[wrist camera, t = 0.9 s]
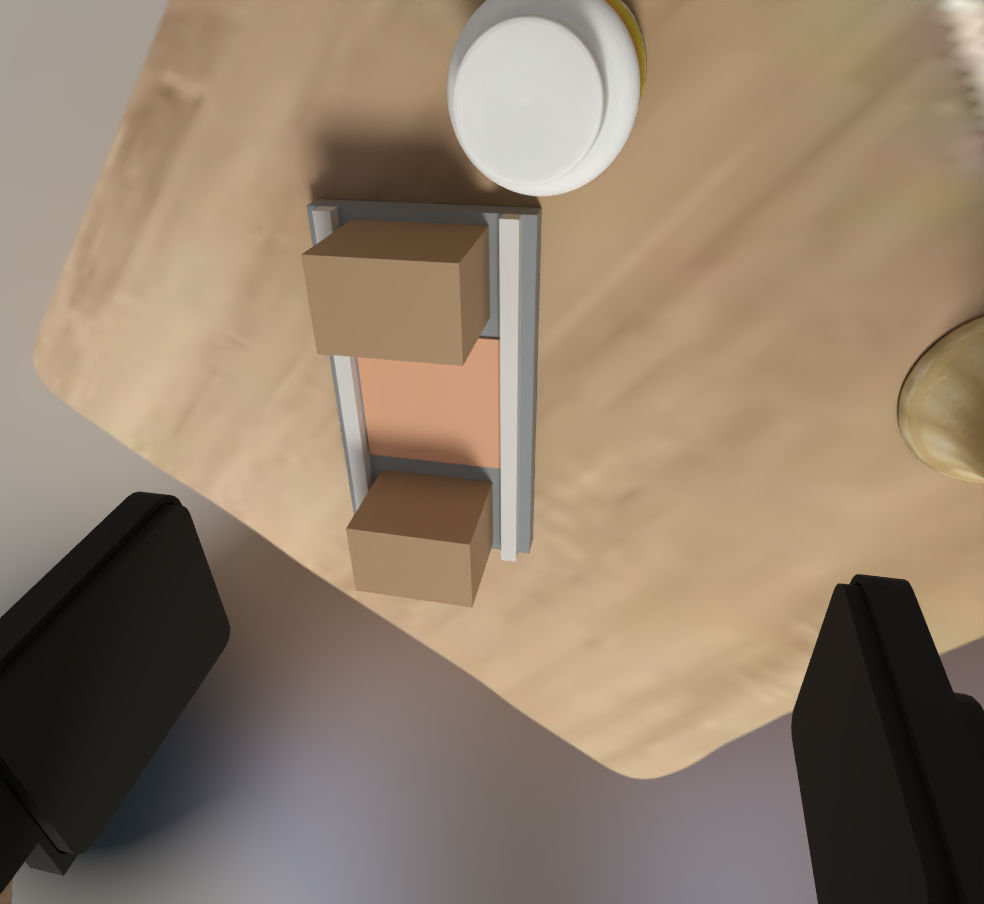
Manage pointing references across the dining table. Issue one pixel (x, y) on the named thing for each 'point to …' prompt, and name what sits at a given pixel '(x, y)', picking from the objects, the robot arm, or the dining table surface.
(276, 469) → the dining table surface
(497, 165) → the supplement bottle
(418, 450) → the rail
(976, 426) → the hand bell
